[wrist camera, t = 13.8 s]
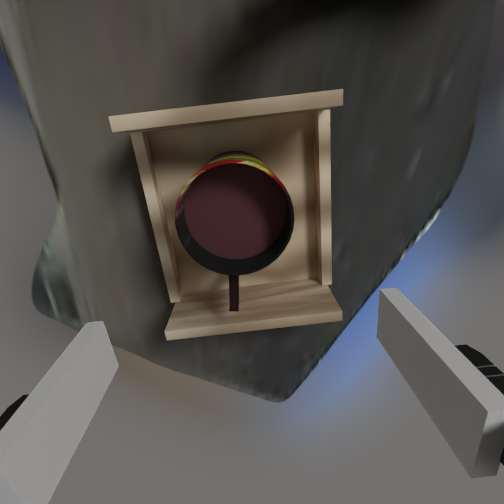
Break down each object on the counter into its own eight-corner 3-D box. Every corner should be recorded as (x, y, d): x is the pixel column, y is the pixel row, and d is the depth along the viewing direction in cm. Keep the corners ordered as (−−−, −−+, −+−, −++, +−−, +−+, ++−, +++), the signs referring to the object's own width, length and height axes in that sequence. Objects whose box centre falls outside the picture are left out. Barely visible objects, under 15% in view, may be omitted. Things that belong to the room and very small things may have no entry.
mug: (232, 272, 39) (230, 328, 28) (179, 173, 34) (150, 193, 23) (301, 242, 38) (328, 287, 27) (256, 135, 33) (265, 136, 22)
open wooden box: (136, 121, 33) (100, 117, 24) (322, 99, 33) (350, 88, 24) (177, 298, 41) (161, 341, 33) (325, 281, 41) (347, 319, 33)
